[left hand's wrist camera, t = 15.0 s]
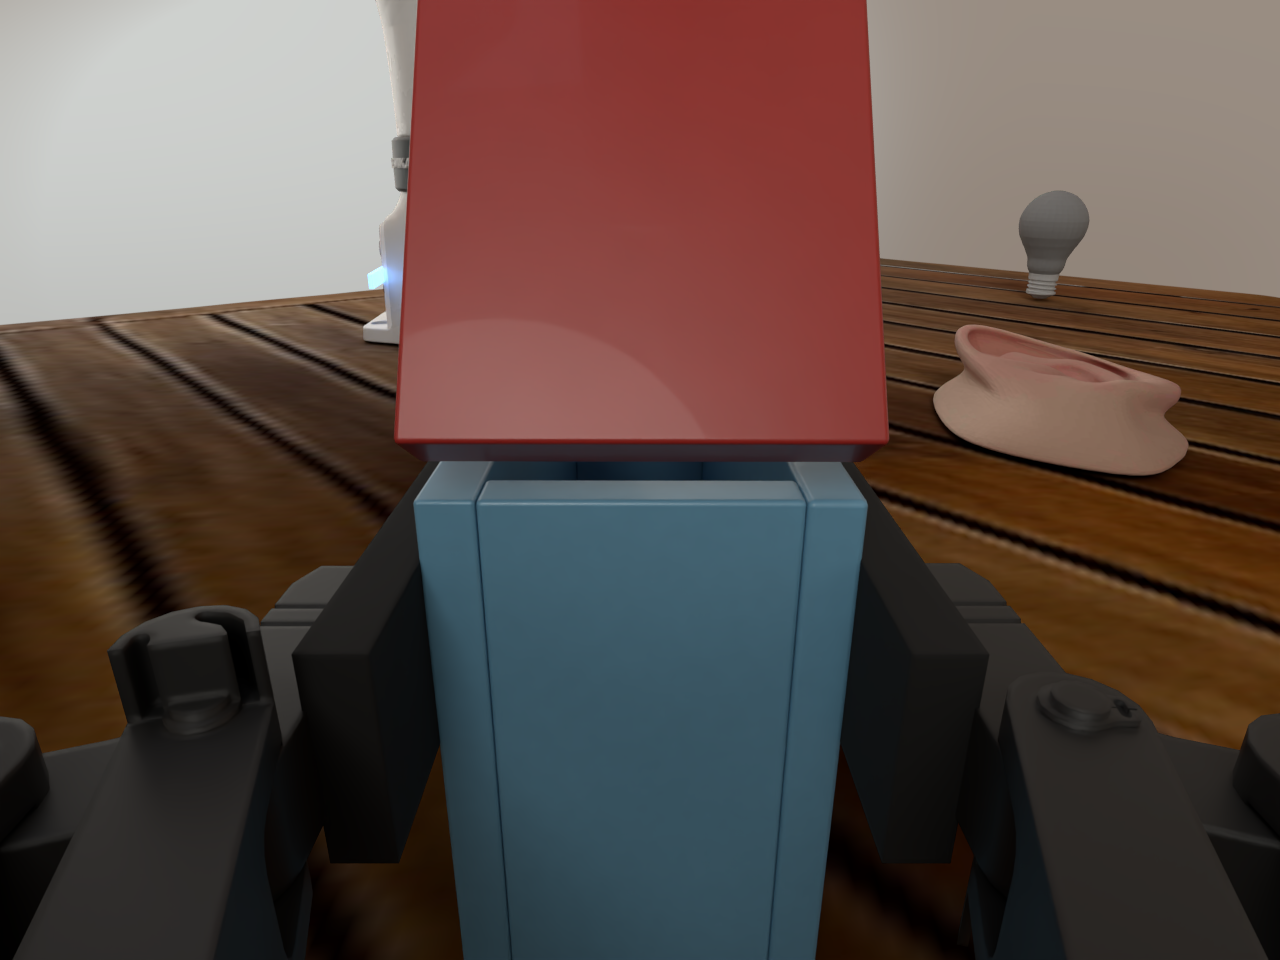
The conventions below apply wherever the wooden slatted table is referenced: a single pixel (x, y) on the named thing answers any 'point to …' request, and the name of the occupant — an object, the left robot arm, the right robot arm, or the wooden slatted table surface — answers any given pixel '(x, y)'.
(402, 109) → the right robot arm
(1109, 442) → the anatomical model
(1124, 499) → the wooden slatted table surface
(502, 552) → the chest
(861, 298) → the lid
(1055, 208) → the light bulb
